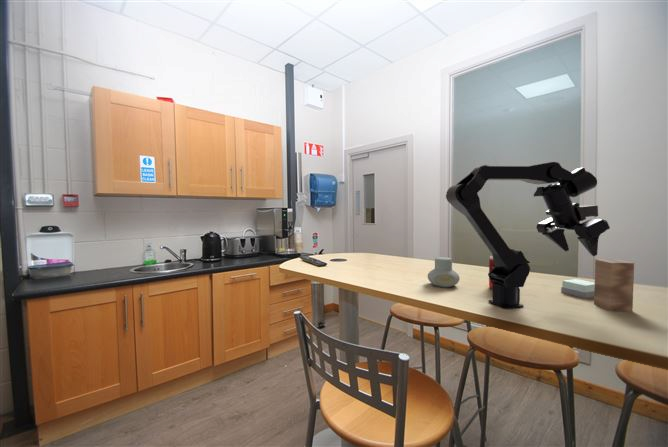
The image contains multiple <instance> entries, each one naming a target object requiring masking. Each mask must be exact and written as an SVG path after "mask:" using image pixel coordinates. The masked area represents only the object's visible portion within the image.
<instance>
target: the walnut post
mask: <svg viewBox="0 0 668 447" xmlns="http://www.w3.org/2000/svg"><path fill="white" fill-rule="evenodd" d="M634 276H635V262H630V261H628V260H627V261H626V260H622V259H613V258H611V259H610V258H609V259H608V258H607V259H606V258H605V259H604V258H602V259H601V258H600V259H597V258H596V259H595V260H594V283H595V287H594V297H593V305H595V306H598V307H600V308H601V309H602V308H603V309H605V310H607V311H611V312H614V311H615V312H633V309H634V308H633V306H634V283H635V282H634V279H635V278H634Z"/></svg>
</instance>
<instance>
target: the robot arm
mask: <svg viewBox="0 0 668 447" xmlns="http://www.w3.org/2000/svg"><path fill="white" fill-rule="evenodd" d="M488 181H521V182H525V183H527V184H532V185H546V186H537V187H536V190H535V192H534V194H533V197H542V198H543V200H544V203H545V205H546V207H547V210H546V211H545V214H546V216H550V217H548V218H546V219H544V220H542V221H540V222H538V223H537V225H536V227H535V228H536V230H537V232H538V233H541V234H542V236H545V237H546V238H548V240H550V241H552V242H553V243H554V244H555V245H557V246H558V247H559V248H560V249H562V250H563V251H564V252H568V251H569V250H570V249H569V244H568V241H567V238H566V234H565V230H569V231H570V230H572V231H574V233H575V235H577V236H578V237H577V240H578V241H579V242H580V243H581V245H583V247H584V248H585V250H586V251H588V252H587V253H589V254H590V256H592V257H596V256H597V255H598V247H599V246H598V245H599V239H600V236H601V234H603V233H605V232H606V231H608V230H610V228H611V227H610V225H609V222H608V220H606V219H603V218H602V219H601V218H596V217H599V206H598V204H597V205H596V204H591V205H587V204H586V205H580V203H579V202H573V201H572V199H571V198H575V197H578V196H580V195H582V194H585V193H587V192H589V191H591V190H593V189H594V188H596V187H597V184H598V179H597V177H596V176H594V174H592V173H591V172H590V171H587V170H586V168H585V167H579V168H575V169H574V170H572V171H570V170H568V169H565V168H564V167H562V165H561V164H560V163H559V162H558V161H550V162H545V163H539V164H533V165H528V166H525V165H523V166H522V165H521V166H520V165H518V166H517V165H516V166H515V165H513V166H512V165H509V166H508V165H504V166H503V165H494V166H493V165H487V164H486V165H480V166H477V167H475V168H473V170H471V171H470V173H469V174H467V175H466V176H465V177H463V179H461V180H460V181H459V182H457V183H456V184H455V185H452V186H450V187H449V188H448V189H447V191H446V193H445V199H446V200H447V202H448V203H449V204H450V205H451V206H452V207H453V208H454V209H455V210H456V211H458V212H459V213H461V214H462V215H464V216H465V218H466V219H467V221H468V222H469V224H471V226H472V228H473V229H474V231H475V232H476V233H477V235H478V236H479V238H480V239H481V241H483V243H484V245H485V246H486V248H487V249H488V250H489V251H490V253H491V254H492V255H491V256H493V262H494V264H495V267H494V268H493V269H492V270H491V271H490V272H489V271H488V274H487V275H488V280H489V279H490V280H492V281H494V282H495V283H493V290H492V299H489V300H488V301H487V302H488V303H491V304H493V305H495V306H498V307H500V308H502V309H514V308H523V307H524V304H523V303H520V300H521V299H520V296H521V295H520V294H521V290H520V288H524V286H525V283H526V280H527V278H528V276H529V274H530V271H531V267H530V261H529V260H528V259H527V258H526V257H525V255H524V253H523V251H522V250H517V249H514V248H510V247H509V245H507V243H506V241H505V240H504V238H503V237H502V236H501V234H500V233H499V232H498V230H497V228H496V227H495V226H494V224H493V223H492V222H491V220H490V219H489V217H488V216H487V215H486V213H485V211H484V210H483V209H482V207H481V200H480V199H481V198H480V196H479V195H478V193H479V192H480V191H481V190H482V189H483V188H484V186H485V184H486V182H488ZM556 183H557V184H556ZM547 184H549V185H547ZM589 217H595V218H589ZM587 218H589V219H588V220H587ZM583 221H584V222H583Z"/></svg>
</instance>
